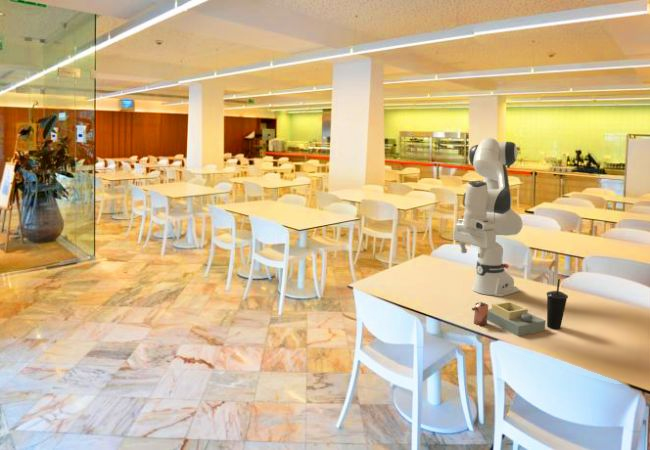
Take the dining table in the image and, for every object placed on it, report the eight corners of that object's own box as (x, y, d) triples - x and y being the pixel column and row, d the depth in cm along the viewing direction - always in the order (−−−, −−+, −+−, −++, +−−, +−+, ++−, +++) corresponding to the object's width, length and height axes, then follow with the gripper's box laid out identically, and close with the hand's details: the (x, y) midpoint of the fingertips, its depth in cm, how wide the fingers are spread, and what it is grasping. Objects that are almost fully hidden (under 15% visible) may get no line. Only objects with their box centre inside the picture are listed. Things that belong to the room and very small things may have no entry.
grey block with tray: (510, 313, 204) (511, 298, 202) (544, 330, 188) (546, 313, 186) (484, 318, 198) (486, 302, 197) (517, 336, 182) (519, 318, 181)
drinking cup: (539, 323, 194) (544, 276, 190) (557, 322, 195) (562, 276, 191) (549, 331, 187) (555, 282, 183) (568, 330, 187) (574, 282, 183)
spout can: (480, 320, 197) (482, 300, 195) (489, 324, 192) (491, 304, 191) (467, 322, 194) (469, 302, 192) (475, 327, 190) (477, 307, 188)
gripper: (450, 218, 200) (448, 250, 202) (487, 226, 182) (484, 261, 184) (462, 217, 202) (460, 249, 205) (499, 225, 184) (496, 260, 187)
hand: (472, 255), depth 194 cm, fingers open, 8 cm apart
